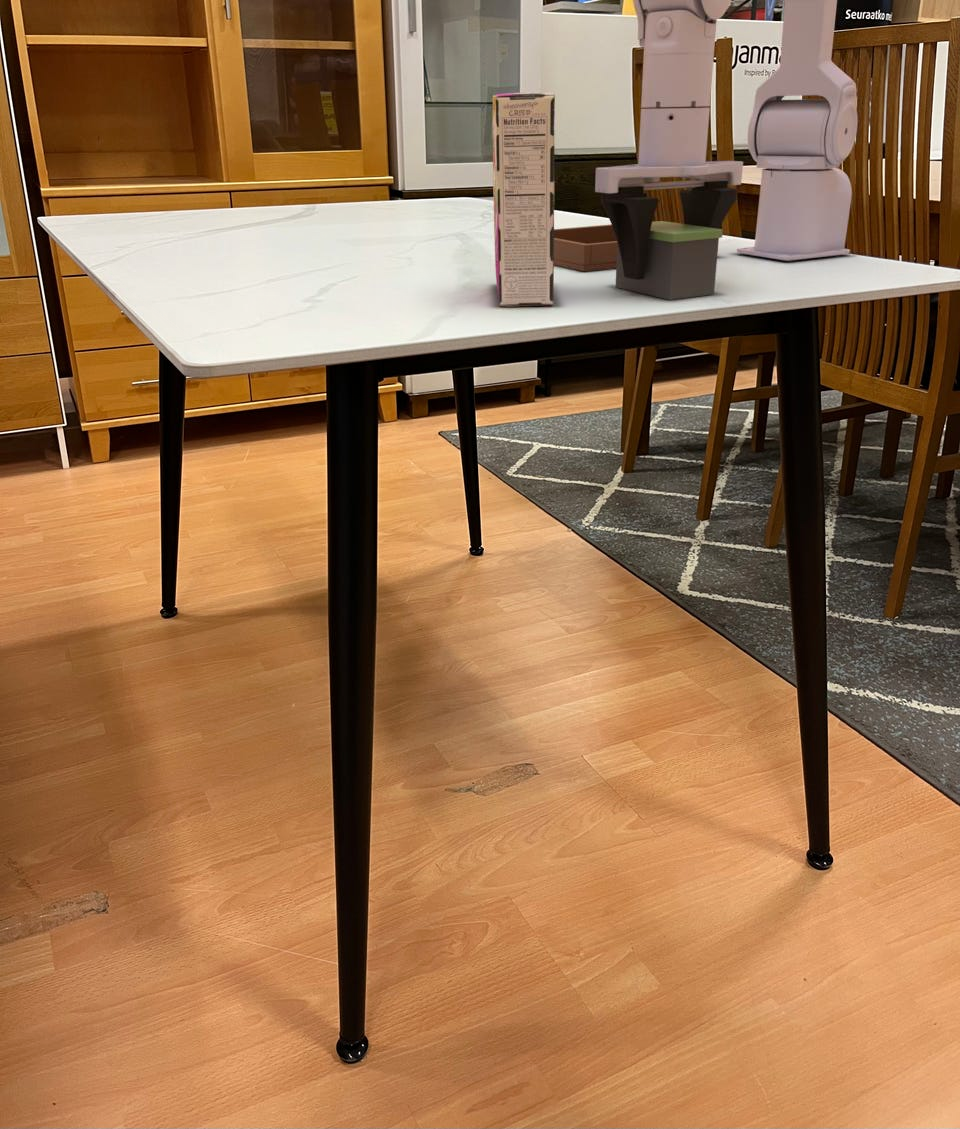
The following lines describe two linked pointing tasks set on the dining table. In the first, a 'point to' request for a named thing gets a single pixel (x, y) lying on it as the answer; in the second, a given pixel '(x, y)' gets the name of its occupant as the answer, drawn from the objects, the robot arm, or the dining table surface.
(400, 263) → the dining table surface
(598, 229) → the tray
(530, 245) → the candy bar box
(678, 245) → the container
